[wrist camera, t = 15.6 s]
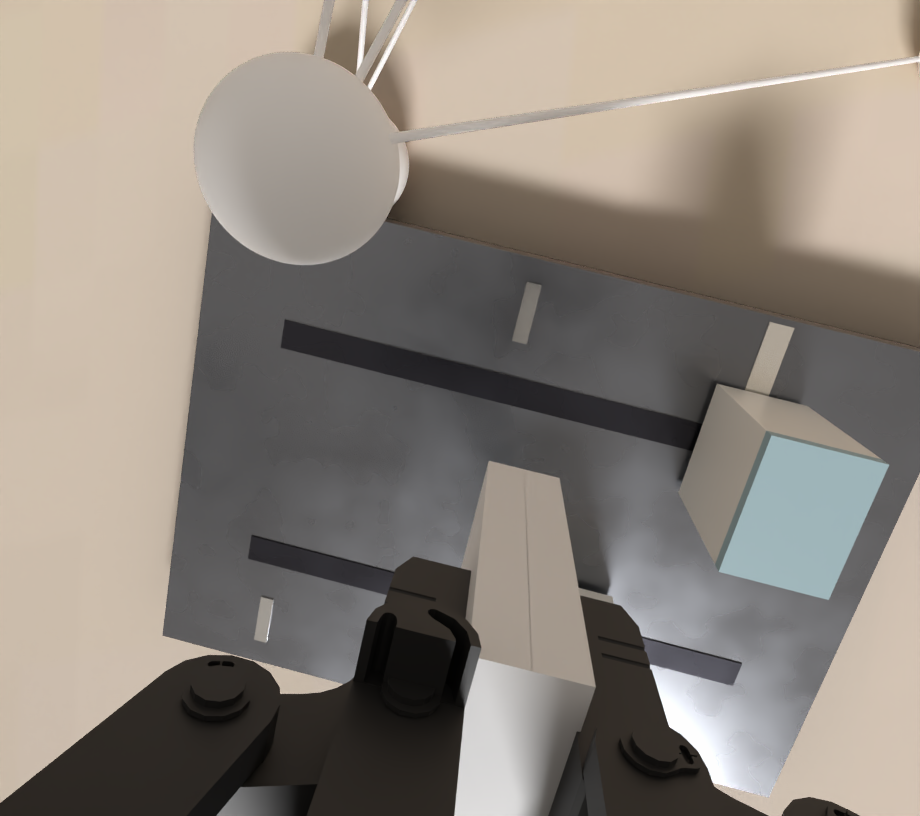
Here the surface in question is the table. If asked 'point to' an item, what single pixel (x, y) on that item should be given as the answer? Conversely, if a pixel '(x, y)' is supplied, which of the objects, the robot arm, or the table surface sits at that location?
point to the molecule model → (338, 145)
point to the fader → (778, 491)
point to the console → (509, 460)
